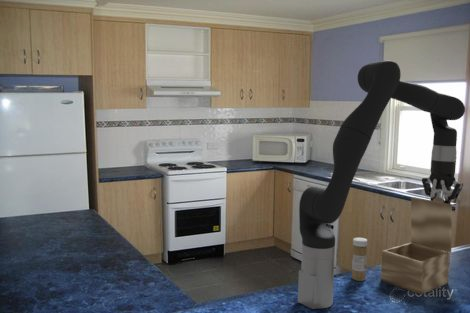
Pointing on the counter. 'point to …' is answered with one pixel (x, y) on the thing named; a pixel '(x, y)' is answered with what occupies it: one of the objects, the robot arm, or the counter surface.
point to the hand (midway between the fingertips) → (439, 209)
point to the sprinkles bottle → (359, 259)
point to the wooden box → (415, 267)
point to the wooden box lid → (431, 223)
